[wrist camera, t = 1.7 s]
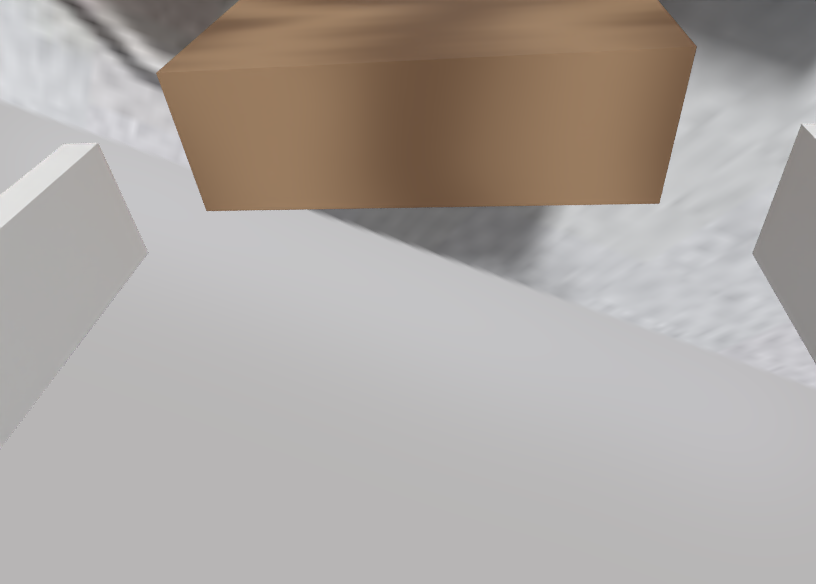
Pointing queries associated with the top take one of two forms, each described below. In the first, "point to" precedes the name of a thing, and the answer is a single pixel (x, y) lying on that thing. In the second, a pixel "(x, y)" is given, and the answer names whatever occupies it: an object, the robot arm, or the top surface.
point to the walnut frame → (430, 103)
